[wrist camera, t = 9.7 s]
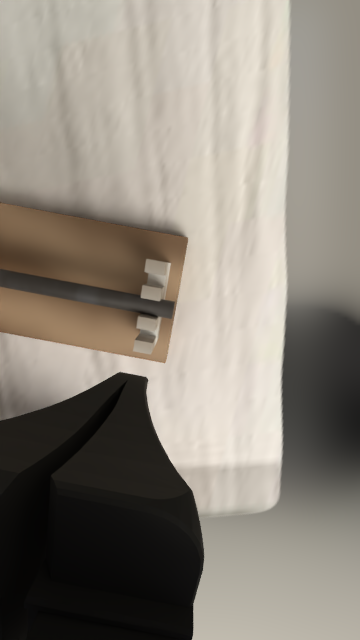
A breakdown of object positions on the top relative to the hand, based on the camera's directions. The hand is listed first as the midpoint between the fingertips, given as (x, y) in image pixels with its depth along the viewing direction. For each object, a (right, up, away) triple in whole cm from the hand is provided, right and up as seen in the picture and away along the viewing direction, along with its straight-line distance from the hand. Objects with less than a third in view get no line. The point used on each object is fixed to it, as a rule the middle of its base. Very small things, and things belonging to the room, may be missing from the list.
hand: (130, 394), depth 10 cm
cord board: (-12, +8, +9) cm, 17 cm away
